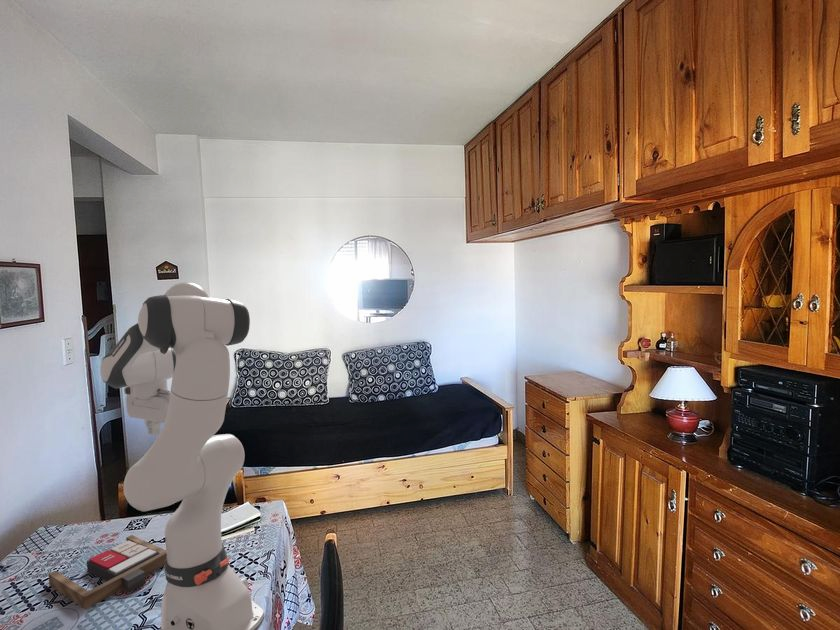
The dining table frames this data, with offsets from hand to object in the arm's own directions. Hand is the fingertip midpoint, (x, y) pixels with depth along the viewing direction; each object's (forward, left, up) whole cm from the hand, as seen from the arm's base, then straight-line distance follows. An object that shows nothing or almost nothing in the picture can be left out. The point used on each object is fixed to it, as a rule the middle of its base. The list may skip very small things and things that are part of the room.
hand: (154, 434), depth 135 cm
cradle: (-8, +17, -31) cm, 36 cm away
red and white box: (-7, +14, -32) cm, 35 cm away
